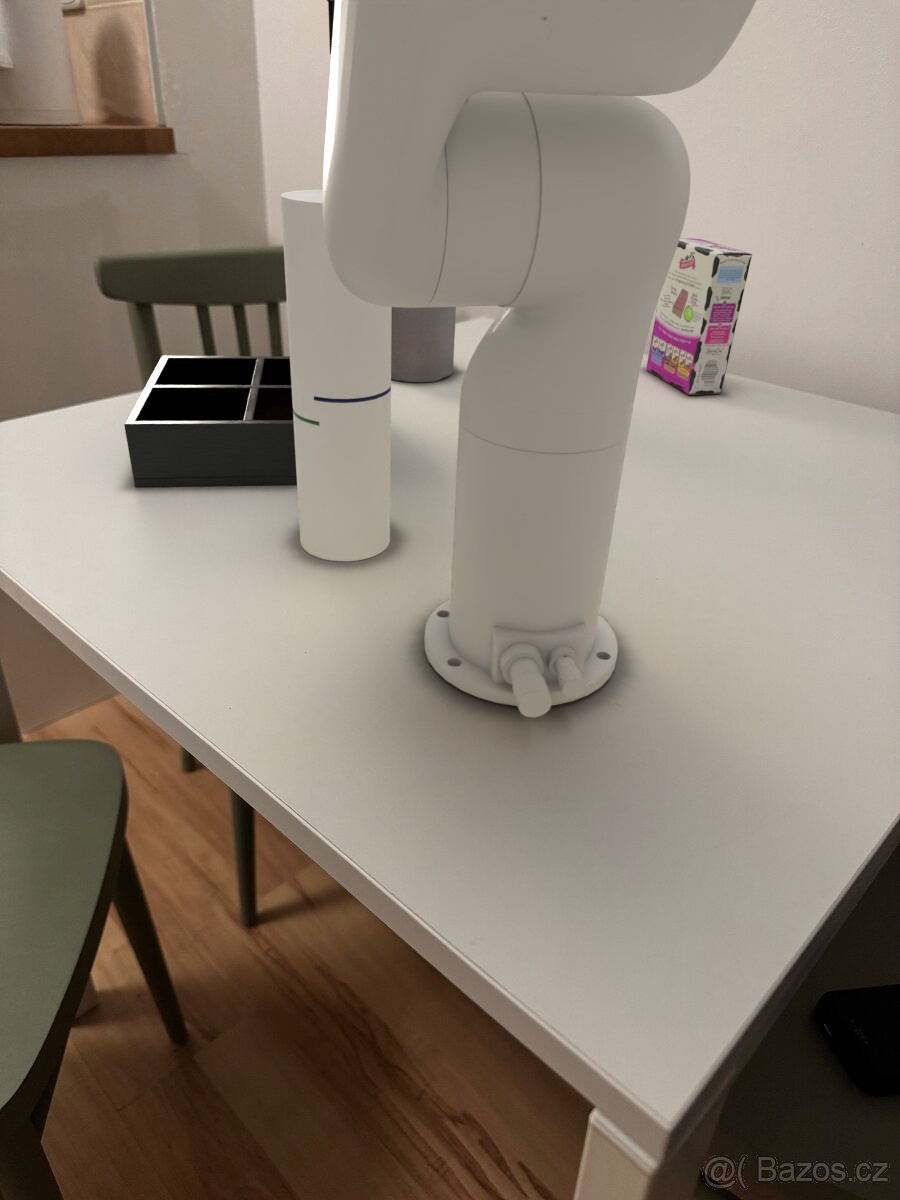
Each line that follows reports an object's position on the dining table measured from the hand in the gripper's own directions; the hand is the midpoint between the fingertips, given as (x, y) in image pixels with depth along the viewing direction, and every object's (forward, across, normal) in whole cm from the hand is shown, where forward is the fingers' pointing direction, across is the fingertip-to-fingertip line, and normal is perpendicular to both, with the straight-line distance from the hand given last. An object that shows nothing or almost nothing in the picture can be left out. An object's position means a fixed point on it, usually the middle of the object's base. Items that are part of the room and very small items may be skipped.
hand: (408, 70), depth 64 cm
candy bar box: (+32, +38, +27) cm, 56 cm away
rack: (+32, -14, +6) cm, 36 cm away
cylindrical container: (+33, -6, -14) cm, 36 cm away
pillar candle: (+32, +4, +31) cm, 44 cm away
